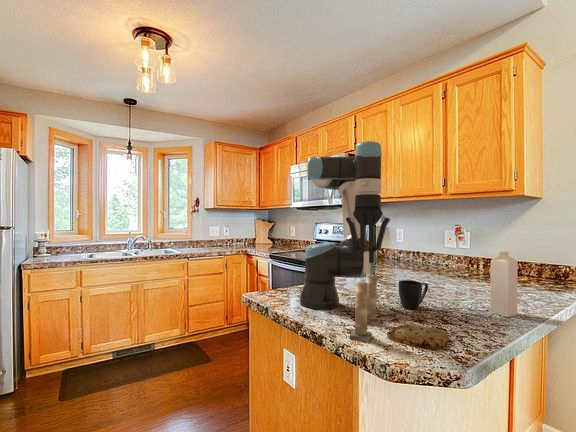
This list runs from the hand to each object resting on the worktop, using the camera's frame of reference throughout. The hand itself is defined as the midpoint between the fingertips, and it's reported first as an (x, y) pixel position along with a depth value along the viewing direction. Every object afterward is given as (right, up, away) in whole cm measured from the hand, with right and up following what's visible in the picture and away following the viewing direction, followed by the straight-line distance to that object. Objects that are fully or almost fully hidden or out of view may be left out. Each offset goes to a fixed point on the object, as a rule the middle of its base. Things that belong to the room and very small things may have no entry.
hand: (367, 273), depth 92 cm
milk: (+53, -18, +18) cm, 59 cm away
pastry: (+13, -17, -6) cm, 22 cm away
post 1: (-3, -17, -6) cm, 18 cm away
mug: (+24, -18, +24) cm, 38 cm away
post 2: (+3, -17, +6) cm, 18 cm away
